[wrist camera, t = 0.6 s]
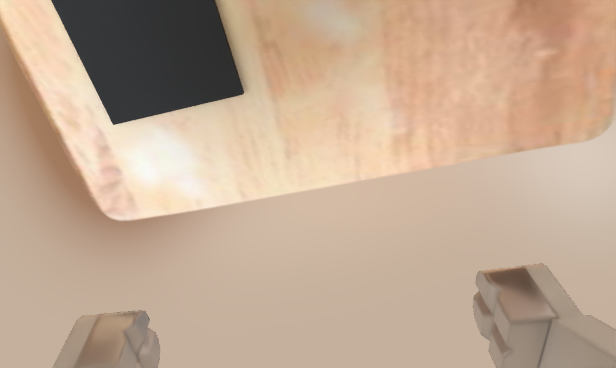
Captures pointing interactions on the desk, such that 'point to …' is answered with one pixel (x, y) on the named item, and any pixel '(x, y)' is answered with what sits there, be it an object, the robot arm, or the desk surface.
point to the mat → (151, 53)
